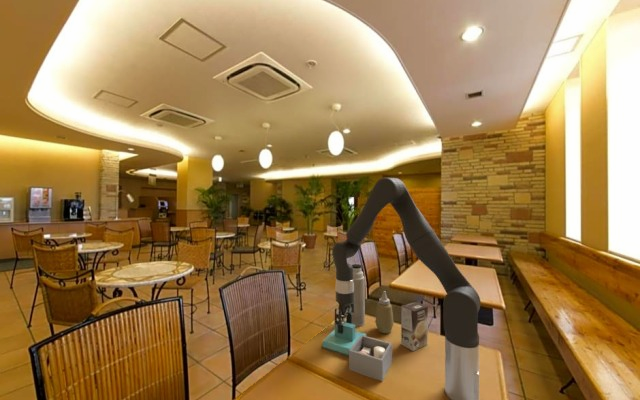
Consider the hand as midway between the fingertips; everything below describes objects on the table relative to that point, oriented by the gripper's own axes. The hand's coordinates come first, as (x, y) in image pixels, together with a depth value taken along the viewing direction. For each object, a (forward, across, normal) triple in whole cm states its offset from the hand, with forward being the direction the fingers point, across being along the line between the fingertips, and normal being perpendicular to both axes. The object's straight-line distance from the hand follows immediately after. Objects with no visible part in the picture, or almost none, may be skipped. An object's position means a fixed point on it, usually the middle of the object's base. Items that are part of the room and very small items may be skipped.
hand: (344, 328), depth 111 cm
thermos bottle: (+7, +20, +3) cm, 21 cm away
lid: (+6, 0, 0) cm, 6 cm away
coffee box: (+7, +14, -25) cm, 29 cm away
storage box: (+7, -8, -14) cm, 17 cm away
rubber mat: (+7, 0, 0) cm, 7 cm away
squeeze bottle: (+7, +19, -11) cm, 23 cm away
